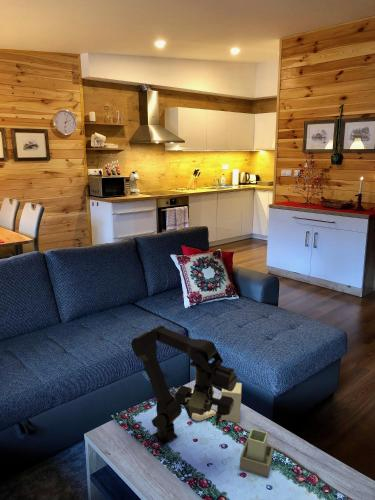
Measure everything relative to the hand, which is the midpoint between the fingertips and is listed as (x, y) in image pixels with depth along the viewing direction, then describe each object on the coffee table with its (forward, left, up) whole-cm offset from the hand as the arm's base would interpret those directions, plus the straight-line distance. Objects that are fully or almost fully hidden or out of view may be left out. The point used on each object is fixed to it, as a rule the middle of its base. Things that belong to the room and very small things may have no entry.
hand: (203, 421), depth 132 cm
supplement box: (-9, +21, -13) cm, 27 cm away
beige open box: (+14, +11, -12) cm, 22 cm away
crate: (+14, +11, -13) cm, 22 cm away
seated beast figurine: (-16, +12, -13) cm, 24 cm away
